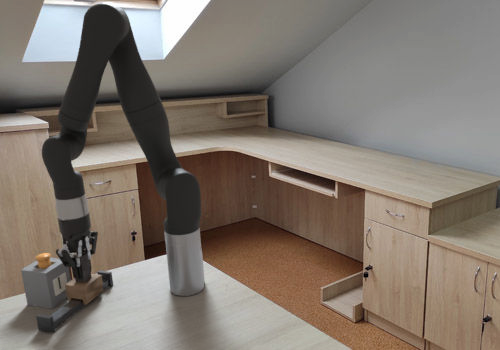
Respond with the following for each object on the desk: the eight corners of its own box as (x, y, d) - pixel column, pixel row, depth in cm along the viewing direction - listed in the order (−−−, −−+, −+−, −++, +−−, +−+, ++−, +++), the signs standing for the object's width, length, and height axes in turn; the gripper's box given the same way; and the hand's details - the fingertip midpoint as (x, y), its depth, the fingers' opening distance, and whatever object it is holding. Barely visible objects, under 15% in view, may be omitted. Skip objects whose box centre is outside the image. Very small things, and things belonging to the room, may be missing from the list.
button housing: (49, 289, 132) (43, 256, 129) (74, 293, 129) (69, 260, 126) (27, 304, 124) (20, 269, 122) (53, 309, 121) (47, 273, 119)
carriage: (85, 288, 129) (79, 248, 126) (104, 291, 127) (98, 250, 124) (67, 301, 123) (60, 259, 120) (87, 304, 121) (80, 262, 118)
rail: (101, 283, 134) (99, 270, 133) (113, 284, 133) (111, 271, 132) (38, 330, 112) (35, 315, 111) (52, 333, 111) (49, 318, 110)
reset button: (45, 271, 127) (42, 252, 126) (56, 272, 126) (53, 253, 124) (35, 277, 124) (32, 258, 122) (47, 279, 123) (43, 259, 121)
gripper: (79, 203, 126) (88, 262, 131) (40, 221, 114) (52, 286, 118) (103, 204, 124) (111, 265, 128) (66, 224, 111) (76, 290, 116)
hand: (82, 275), depth 123 cm, fingers closed on carriage, 3 cm apart
